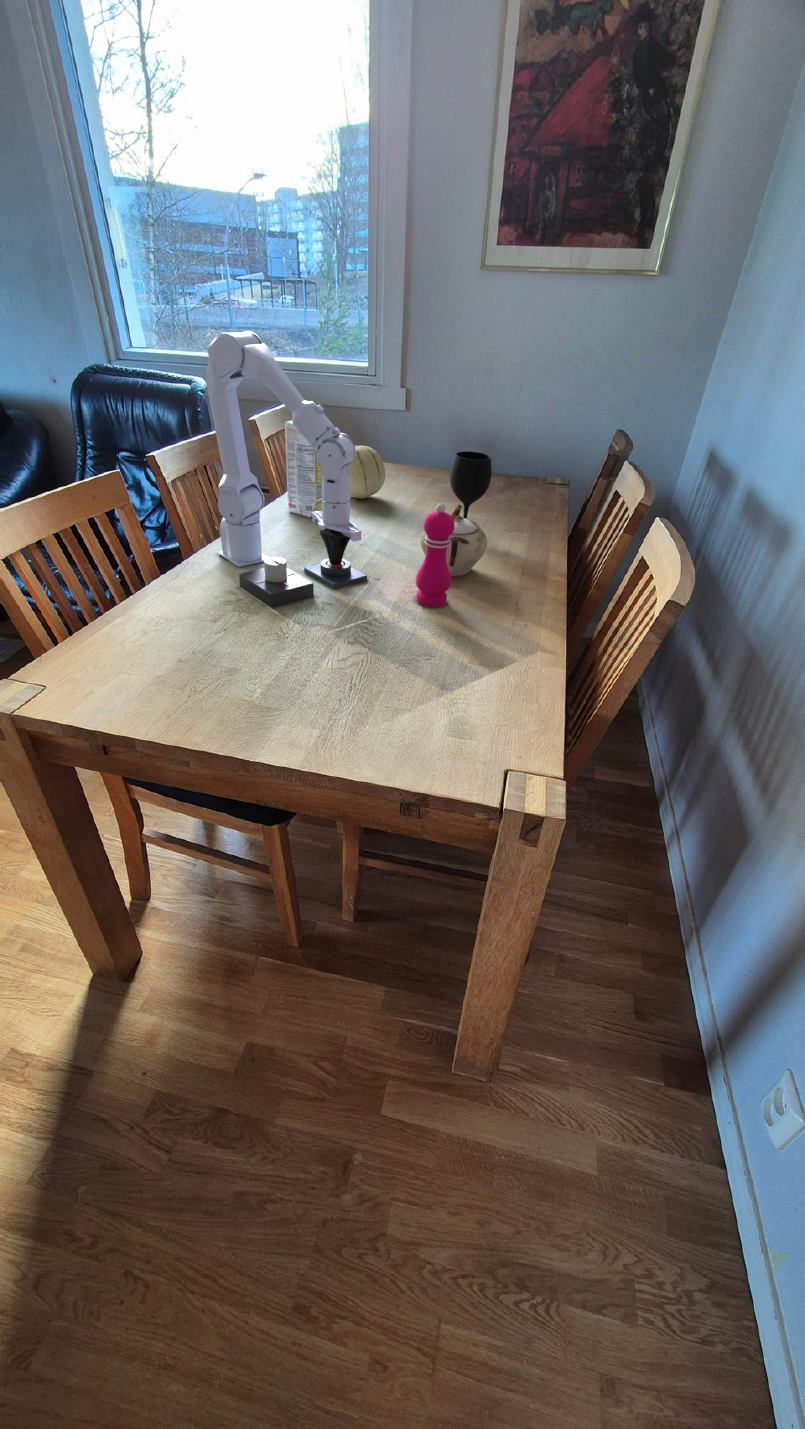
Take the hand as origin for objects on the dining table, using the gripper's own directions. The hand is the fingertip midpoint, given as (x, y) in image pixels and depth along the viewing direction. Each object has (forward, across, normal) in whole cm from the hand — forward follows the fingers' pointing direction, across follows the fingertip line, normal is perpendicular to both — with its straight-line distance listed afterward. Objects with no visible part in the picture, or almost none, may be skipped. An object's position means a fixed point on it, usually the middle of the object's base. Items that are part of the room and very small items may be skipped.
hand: (335, 563), depth 133 cm
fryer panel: (+3, 0, -15) cm, 15 cm away
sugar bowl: (+3, +11, +25) cm, 27 cm away
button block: (+3, 0, 0) cm, 3 cm away
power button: (+2, 0, 0) cm, 2 cm away
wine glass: (+3, -4, +45) cm, 45 cm away
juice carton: (+3, -40, +20) cm, 45 cm away
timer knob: (0, 0, -15) cm, 15 cm away
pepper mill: (+3, +21, +9) cm, 23 cm away
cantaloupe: (+3, -44, +42) cm, 61 cm away
